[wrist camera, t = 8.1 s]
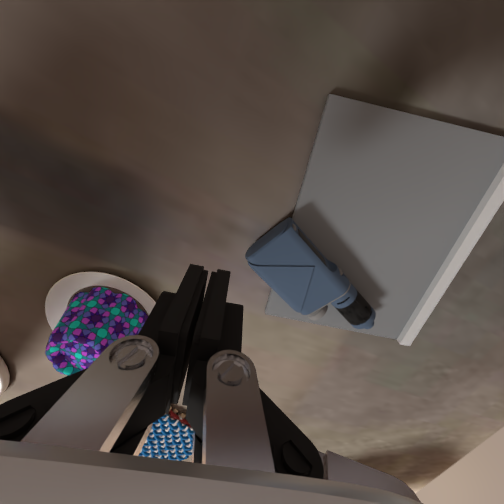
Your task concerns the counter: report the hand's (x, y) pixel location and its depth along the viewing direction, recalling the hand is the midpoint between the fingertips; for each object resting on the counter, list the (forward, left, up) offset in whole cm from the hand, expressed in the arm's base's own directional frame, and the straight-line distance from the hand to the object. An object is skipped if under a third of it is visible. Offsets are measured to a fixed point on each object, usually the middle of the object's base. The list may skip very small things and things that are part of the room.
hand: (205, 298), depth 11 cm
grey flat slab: (+1, -11, -11) cm, 16 cm away
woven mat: (-30, +4, -12) cm, 33 cm away
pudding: (-13, +10, -12) cm, 20 cm away
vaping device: (0, -3, -9) cm, 10 cm away
